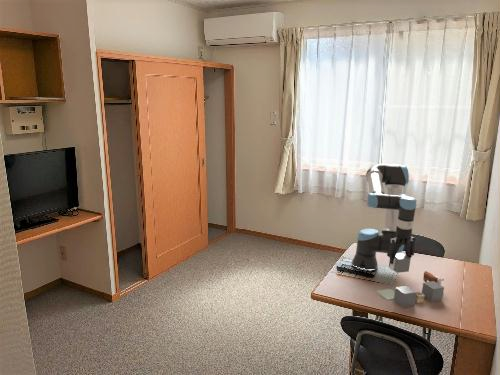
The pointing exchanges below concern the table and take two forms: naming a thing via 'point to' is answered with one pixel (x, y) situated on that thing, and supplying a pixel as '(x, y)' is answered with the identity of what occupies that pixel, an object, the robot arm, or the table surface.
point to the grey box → (401, 263)
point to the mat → (387, 294)
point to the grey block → (404, 296)
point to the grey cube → (432, 291)
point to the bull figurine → (431, 278)
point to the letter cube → (419, 297)
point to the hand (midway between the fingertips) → (398, 268)
